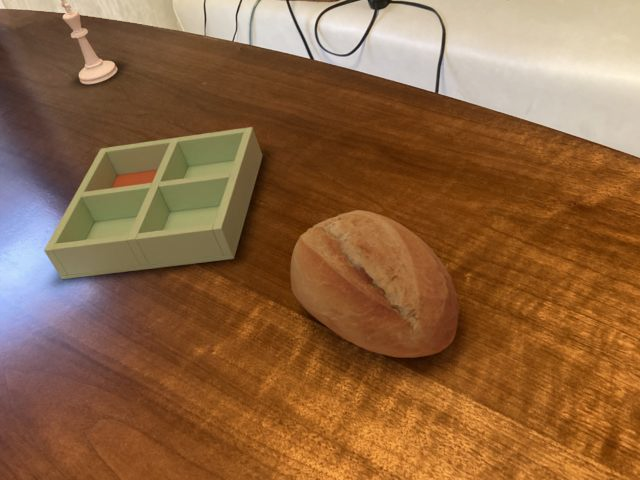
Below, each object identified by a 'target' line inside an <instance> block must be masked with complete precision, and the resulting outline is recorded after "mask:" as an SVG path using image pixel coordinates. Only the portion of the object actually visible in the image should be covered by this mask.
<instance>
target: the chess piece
mask: <svg viewBox="0 0 640 480" xmlns="http://www.w3.org/2000/svg"><path fill="white" fill-rule="evenodd" d="M60 1H61V2H60V6H61V7H62V8H63V9H64V10H65V13H64V14H63V15H62V20H63V21H64V22H65V23H66V24H67V25H68V27H69V28H70V29H71V30H72V32H71V33H70V38H71V39H76V40H77V41H78V44H79V46H80V50H81V52H82V55H83V59H84V62H85V63H84V67H83V68H82V69H81V70H80V71H79V72H78V78H79V82H80V83H81V84H83V85H96V84H100V83H102V82H104V81H107V80H109V79H110V78H112V77H113V76H114V75H115V74H116V73H117V72H118V66H116V62H115V63H114V61H111V60H103V59H102V58H99V57H98V55H97V53H96V52H95V51H94V49H93V47H92V46H91V43H90V42H89V41H88V39H87V37H86V35H88V33H89V30H88V29H87V28H85V27H84V28H83V27H82V26H81V25H82V23H81V16H80V12H79V11H77V10H71V9H72V5H71V4H70V3H68V1H67V0H60Z"/></svg>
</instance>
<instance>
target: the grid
mask: <svg viewBox="0 0 640 480" xmlns="http://www.w3.org/2000/svg"><path fill="white" fill-rule="evenodd" d="M263 156H264V155H263V153H262V150H261V147H260V144H259V141H258V138H257V135H256V133H255V130H254V128H253V126H248V127H242V128H241V127H240V128H235V129H226V130H220V131H213V132H207V133H200V134H193V135H185V136H179V137H172V138H165V139H164V138H163V139H158V140H151V141H143V142H136V143H129V144H122V145H116V146H108V147H102V148H100V149H99V151H98V153H97V154H96V156H95V157H94V160H93V162H92V164H91V165H90V167H89V169H88V171H87V172H86V174H85V176H84V178H83V179H82V182H81V183H80V185H79V187H78V189H77V190H76V192H75V194H74V196H73V197H72V199H71V201H70V203H69V205H68V207H67V208H66V210H65V211H64V213H63V215H62V217H61V218H60V221H59V223H58V224H57V226H56V228H55V230H54V232H53V233H52V235H51V237H50V239H48V242H47V243H46V246H45V248H44V250H43V251H44V253H45V255H46V256H47V259H49V261H50V262H51V264H52V266H53V267H54V269H55V270H56V272H57V273H58V275H59V277H60V278H61V280H69V279H76V278H77V279H78V278H85V277H93V276H102V275H109V274H119V273H127V272H135V271H143V270H153V269H160V268H168V267H177V266H186V265H192V264H202V263H210V262H218V261H226V260H227V261H228V260H234V259H235V257H236V253H237V249H238V246H239V243H240V238H241V235H242V232H243V228H244V225H245V220H246V217H247V214H248V211H249V207H250V203H251V199H252V195H253V192H254V189H255V184H256V182H257V178H258V174H259V170H260V168H261V164H262V159H263Z"/></svg>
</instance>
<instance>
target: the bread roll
mask: <svg viewBox="0 0 640 480" xmlns="http://www.w3.org/2000/svg"><path fill="white" fill-rule="evenodd" d="M291 255H292V256H291V259H290V272H289V273H290V285H291V292H292V294H293V295H294V297H295V299H296V300H297V301H298V303H299V304H300V305H301V307H303V308H304V309H305V311H306V312H307V313H309V314H310V315H311V316H313V318H315V319H316V320H317V321H318V322H320V323H321V324H322V325H324V326H326V327H327V328H328V329H329V330H330V331H332V332H334V334H336V335H337V336H339V337H341V339H342V338H343V339H344V340H346V341H347V342H350V343H352V344H353V345H356V346H357V347H359V348H361V349H364V350H367V351H369V352H372V353H375V354H379V355H384V356H387V357H392V358H402V359H403V358H404V359H405V358H408V359H409V358H411V359H413V358H414V359H415V358H421V357H427V356H433V355H435V354H438V353H441V352H442V351H444V350H446V349H447V348H448V347H449V346H450V345H451V344H452V343H453V341H454V339H455V337H456V335H457V329H458V324H459V315H460V305H459V298H458V294H457V291H456V288H455V285H454V282H453V279H452V277H451V275H450V273H449V270H448V269H447V268H446V266H445V265H444V264H443V262H442V261H441V260H440V258H439V257H438V255H437V254H436V253H435V252H434V250H433V249H432V248H431V247H430V246H429V245H428V244H427V243H426V242H425V241H424V240H422V239H421V238H420V237H419V236H418V235H416V233H414V232H413V231H411V230H410V229H408V228H407V227H405V226H403V225H402V224H401V223H399V222H397V221H396V220H393V219H391V218H390V217H387V216H385V215H383V214H379V213H377V212H372V211H370V210H369V211H368V210H362V209H361V210H359V209H355V210H353V211H349V212H348V211H347V212H345V213H340V214H338V215H336V216H333V217H330V218H327V219H325V220H323V221H320V222H317V223H316V224H314V225H313V226H312V227H309V228H307V229H306V231H305V232H304V233H302V234H301V235H300V236H299V237H298V240H297V242H296V243H295V245H294V248H293V250H292V254H291Z"/></svg>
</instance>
